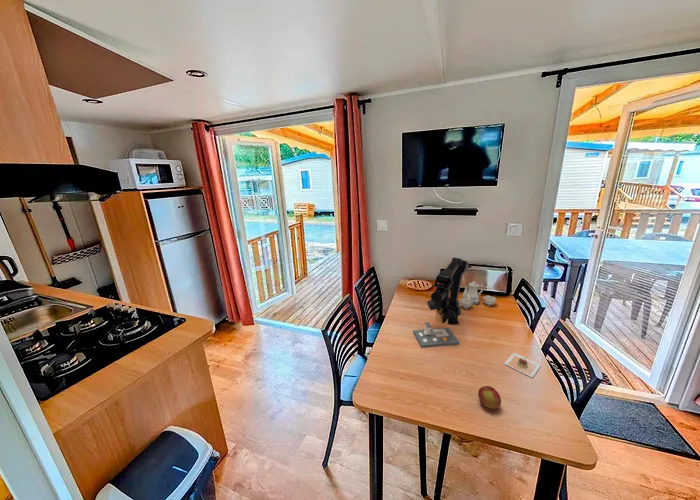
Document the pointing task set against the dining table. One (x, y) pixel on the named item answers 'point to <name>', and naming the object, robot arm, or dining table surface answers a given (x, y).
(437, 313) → the mustard yellow cube
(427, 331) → the lever
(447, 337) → the breaker panel
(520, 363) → the dessert
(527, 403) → the dining table surface
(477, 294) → the chinaware
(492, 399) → the apple
